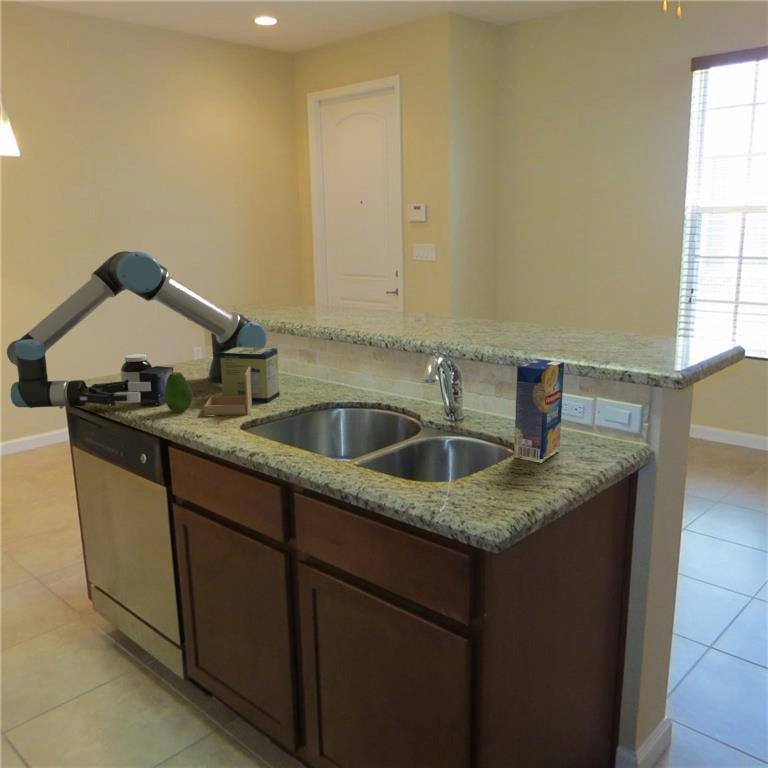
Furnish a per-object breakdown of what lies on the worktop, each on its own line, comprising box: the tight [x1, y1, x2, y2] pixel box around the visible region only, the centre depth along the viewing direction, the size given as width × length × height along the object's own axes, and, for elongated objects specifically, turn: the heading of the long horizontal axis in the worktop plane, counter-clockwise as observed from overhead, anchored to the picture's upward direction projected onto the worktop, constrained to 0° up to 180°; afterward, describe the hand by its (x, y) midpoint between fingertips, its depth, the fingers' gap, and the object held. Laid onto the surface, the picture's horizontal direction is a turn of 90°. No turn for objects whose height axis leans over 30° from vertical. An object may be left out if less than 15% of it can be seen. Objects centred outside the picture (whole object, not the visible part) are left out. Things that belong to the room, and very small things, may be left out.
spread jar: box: [120, 353, 153, 392], centre depth 238 cm, size 12×11×12 cm
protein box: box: [220, 347, 281, 404], centre depth 223 cm, size 10×16×16 cm
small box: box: [139, 365, 174, 406], centre depth 219 cm, size 11×6×10 cm, turn 168°
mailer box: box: [203, 367, 253, 416], centre depth 208 cm, size 12×12×12 cm
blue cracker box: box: [513, 358, 565, 459], centre depth 165 cm, size 7×11×22 cm, turn 144°
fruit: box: [164, 371, 194, 413], centre depth 207 cm, size 8×8×12 cm
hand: (145, 391), depth 206 cm, fingers open, 13 cm apart
